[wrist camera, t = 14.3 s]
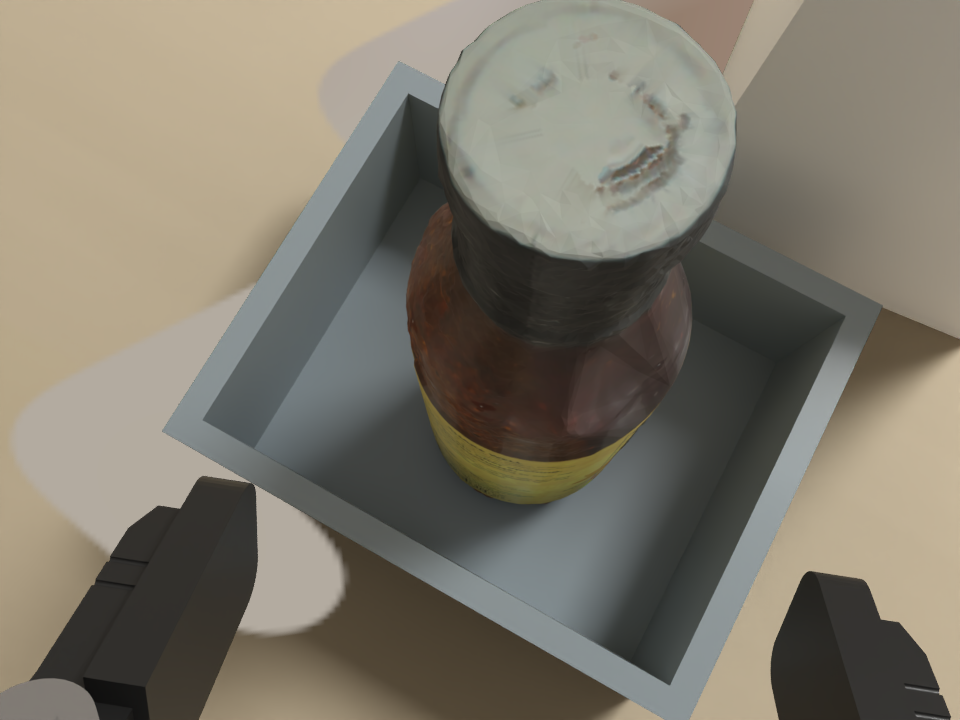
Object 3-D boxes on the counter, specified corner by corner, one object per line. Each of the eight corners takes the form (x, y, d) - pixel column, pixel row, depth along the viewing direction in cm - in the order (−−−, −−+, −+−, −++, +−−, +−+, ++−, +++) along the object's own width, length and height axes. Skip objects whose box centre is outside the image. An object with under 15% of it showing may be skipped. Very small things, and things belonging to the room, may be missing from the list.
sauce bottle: (627, 495, 30) (898, 368, 11) (443, 520, 30) (386, 433, 11) (596, 311, 32) (786, -92, 12) (421, 333, 31) (335, -42, 12)
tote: (229, 460, 31) (162, 431, 25) (413, 162, 34) (398, 60, 27) (636, 693, 30) (684, 730, 23) (797, 360, 32) (882, 305, 26)
